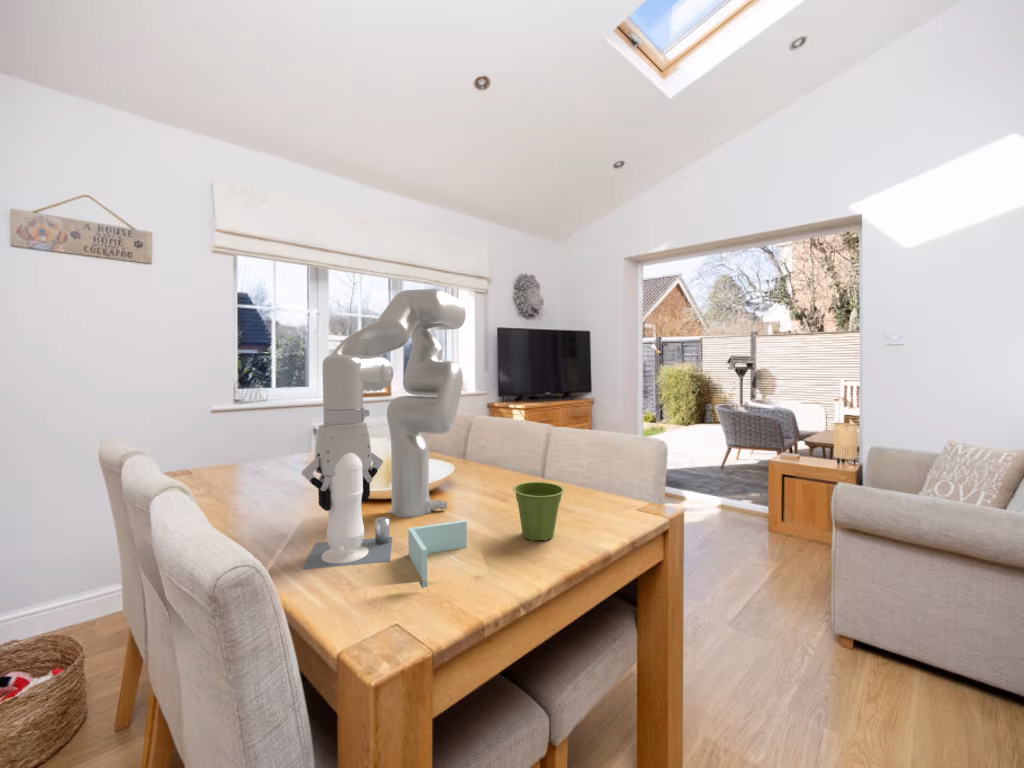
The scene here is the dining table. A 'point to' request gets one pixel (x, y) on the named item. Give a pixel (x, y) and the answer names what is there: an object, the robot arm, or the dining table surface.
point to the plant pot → (538, 508)
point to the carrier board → (348, 555)
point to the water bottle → (346, 504)
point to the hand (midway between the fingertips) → (345, 504)
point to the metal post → (382, 530)
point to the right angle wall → (434, 542)
